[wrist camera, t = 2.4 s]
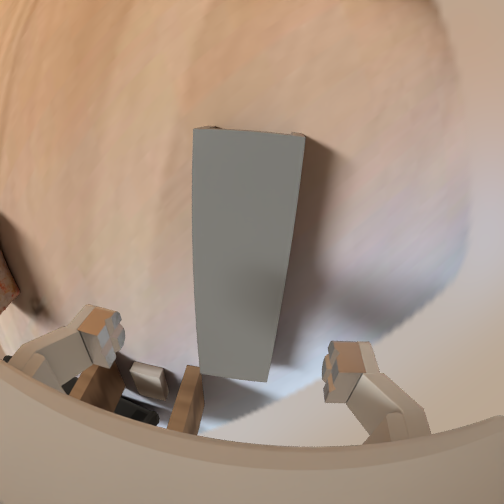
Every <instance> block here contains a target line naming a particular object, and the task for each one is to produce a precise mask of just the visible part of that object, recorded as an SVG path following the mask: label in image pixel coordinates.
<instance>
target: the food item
mask: <svg viewBox="0 0 504 504" xmlns="http://www.w3.org/2000/svg"><path fill="white" fill-rule="evenodd" d="M19 293H20V291H19V289H18V287H17V285H16V283H15V281H14V279H13V277H12V275H11V273H10V271H9V269H8V267H7V264H6V262H5V259H4V256H3V253H2V251H1V248H0V314H1V313H2V312H3V311H4V310H5V309H6V308H7V307H8V306H9V304H10V303H11V302H12V301H13V300H14V299H15V298H16V297H17V296H18V295H19Z"/></svg>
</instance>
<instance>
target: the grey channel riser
mask: <svg viewBox="0 0 504 504" xmlns="http://www.w3.org/2000/svg"><path fill="white" fill-rule="evenodd" d="M305 138H306V137H305V136H304V135H303V134H301V133H294V132H292V135H290V134H282V133H272V132H261V131H249V130H234V129H216V126H204V127H199V128H195V129H193V157H192V244H193V275H194V297H195V314H196V329H197V343H198V355H199V366H200V374H206V375H212V376H218V377H225V378H232V379H240V380H248V381H257V382H267V379H268V374H269V369H270V364H271V359H272V354H273V349H274V343H275V338H276V333H277V327H278V322H279V316H280V310H281V305H282V299H283V293H284V287H285V281H286V275H287V269H288V263H289V256H290V250H291V243H292V237H293V230H294V223H295V216H296V209H297V202H298V195H299V187H300V179H301V172H302V163H303V155H304V147H305Z"/></svg>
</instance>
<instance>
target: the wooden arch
mask: <svg viewBox="0 0 504 504" xmlns="http://www.w3.org/2000/svg"><path fill="white" fill-rule="evenodd" d="M130 373H131V375H132V378H133V380H134V383H135V385H136V388H137V390H138V393H139V394H140V395H143V396H147V397H151V398H155V399H159V400H163V401H166V399H167V396H168V394H169V389H168V386H167V382H166V378H165V374H164V370H163V368H160V367H156V366H151V365H147V364H143V363H139V362H135V361H134V363H133V365H132V367H131V369H130ZM124 388H125V384H124V381H123V379H122V377H121V374H120V372H119V370H118V367H117V365H116V362H115V360H114V362H113V364H112V365H111V367H110V369H109V368H105V367H102V366H99V365H95V364H93V365H91V366H90V367H88V368H87V369H86V370H84V371H83V372H82V373H81V375H80V377H79V378H78V380H77V382H76V384H75V385H74V387H73V389H72V391H71V392H70V394H69V396H71V397H73V398H76V399H78V400H81V401H83V402H85V403H88V404H90V405H93V406H95V407H98V408H101V409H103V410H106V411H109V412H112V413H114V410H115V408H116V406H117V404H118V402H119V399H120V397H121V395H122V393H123V391H124ZM203 409H204V395H203V385H202V375H201V374H200V367H195V366H190V365H187V367H186V370H185V373H184V376H183V379H182V382H181V385H180V388H179V391H178V394H177V398H176V401H175V404H174V407H173V410H172V413H171V416H170V420H169V423H168V426H167V429H169V430H174V431H178V432H183V433H187V434H192V435H197V434H198V430H199V425H200V421H201V417H202V413H203Z"/></svg>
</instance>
